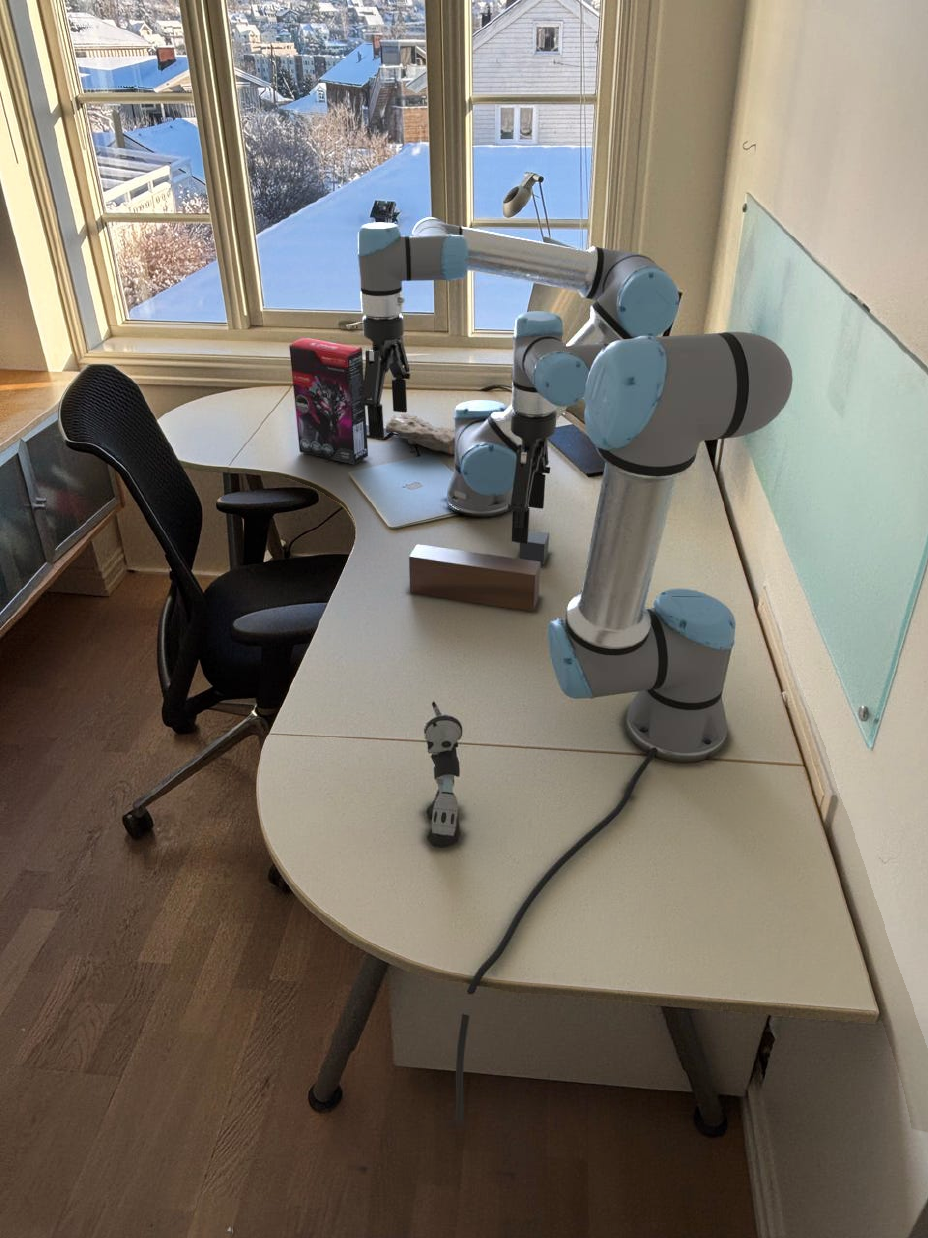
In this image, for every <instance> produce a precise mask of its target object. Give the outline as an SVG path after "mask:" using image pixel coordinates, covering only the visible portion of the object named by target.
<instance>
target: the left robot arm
mask: <svg viewBox="0 0 928 1238" xmlns="http://www.w3.org/2000/svg"><path fill="white" fill-rule="evenodd" d="M357 259H358V272H359V283H360V285H359V286H360V305H361V313H362V315H363V316H362V333H363V336H364V337H365V338H366V339H368V340H370V341H371V342H372V345H371V349H370V350H369V349H368V350H367V349H366V350H365V358H364V359H365V368H364V374H363V375H364V385H363V395H362V405H365V407H367V423H368V437H369V438H376V439H383V438H384V437H385V430H384V429H385V428H384V412H383V411H384V410H383V404H382V403H381V400H382V394H383V389H384V384H385V378H386V373H388V372H389V371H390V373H391V375H392V377H393V378H392V379H391V395H392V411H393V412H394V413H395V412H397V413H404V414H406V413H407V412H408V404H407V403H408V402H407V401H408V400H407V380H411V373H410V364H409V361H408V357H407V353H406V348H405V345H404V338H403V336H404V334H405V326H404V324H405V323H404V316H403V315H402V313H403V311H404V309H403V304H404V303H405V301H406V299H405V297H403V286H402V284H403V282H412V281H413V282H414V281H415V282H416V281H420V282H421V281H447V282H450V281H453V280H454V281H455V280H463V279H465V278H466V277H467V276H468V275H467V274H468V272H469V271H470V272H474V273H480V274H485V275H490V276H495V277H500V278H505V279H506V278H507V279H511V280H517V281H521V282H527V283H532V284H538V285H544V286H548V287H554V288H560V289H565V290H570V291H576V292H578V294H579V296H580V297H581V298H583V299H587V300H588V299H589V300H592V301H595V302H594V303H593V304H592V305H591V306H590V318H589V320H588V321H587V322H586V323H585V324H584V325H583V327H581V329H580V330H579V331H578V332H577V333H576V334H575V335H574V336H573V337H572V338H571V339H570V340H569V342H567V344H566V345H567V346H569V345H584V344H603V343H612V342H615V341H618V340H625V339H634V338H637V337H639V336H647V335H649V336H655V337H659V336H660V335H662V334H664V333H665V332H666V331H667V330H668V329H669V328H670V327H671V326H672V325H673V323H674V321H675V319H676V318H677V315H678V312H679V308H680V294H679V291H678V287H677V286H676V284H675V282H674V280H673V278H672V277H671V276H670V274H669V273H668V272H666V271H665V270H664V269H663V268H661V266H659V265H658V264H657V263H656V262H655V261H654V260H652V258H650V257H648V256H647V255H644V254H641V253H638V252H633V251H626V250H618V249H611V248H604V247H598V246H591V247H590V248H588V249H587V250H584V249H580V248H575V247H574V248H573V247H570V246H569V247H568V246H563V245H559V244H554V243H548V242H543V241H537V240H534V239H533V240H532V239H527V238H522V237H517V236H513V235H512V236H511V235H507V234H500V233H496V232H490V231H486V230H480V229H477V228H476V229H475V228H470V227H464V226H458V225H454V224H450V223H445V222H444V221H443V220H440V219H438V218H436V217H425V218H423V219H421V220H419V221H418V222H417V223H416V224H415V226H414V227H413V230H412V232H411V235H402V234H401V231H400V227H399V226H398V225H397V224H395V223H391V222H371V223H370V222H369V223H366V224H363V225H361V226H360V228H359V229H358V231H357ZM569 407H570V406H567V407H560V406H557V408H556V410H555V411H556V413H557V416H556V421H557V420H558V419H559V418H560V417H561V416H562V415H563V413H565V412H566V410H567V409H569ZM512 410H513V408H512V407H511V404H510V405H509V406H508V405H507V404H506V403H503V402H500V401H497V400H490V399H489V400H488V399H487V400H486V399H485V400H484V399H477V400H476V399H475V400H468V401H463V402H461V403H459V404H458V405H456V407H455V409H454V416H453V420H454V429H455V454H454V470H453V473H452V477H451V480H450V482H449V485H448V487H447V491H446V495H445V496H446V497H447V499H446V505H447V507H448V508H449V509H450V510H452V511H453V512H455V513H456V514H457V513H458V514H459V515H464V516H468V517H474V518H489V517H490V518H491V517H496V516H501V515H502V514H506V513H507V512H508V511H511V510H510V509H508V504H511V498H512V491H513V483H514V476H515V468H516V457H517V455H516V453H517V451H518V448H519V444H522V439H521V438H520V437H518V436H516V435H514V434H513V433H512V431H511V411H512ZM446 497H445V498H446ZM447 501H448V502H449V503H450V504H452V506H454V507H456V508H457V509H459V510H457V509H455V508H453V507H452V506H451V505H449V503H448V502H447Z"/></svg>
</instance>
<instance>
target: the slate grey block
mask: <svg viewBox="0 0 928 1238" xmlns="http://www.w3.org/2000/svg"><path fill="white" fill-rule="evenodd" d="M549 543H550V532H547V531H539V530H531V529H528V542H527V544H525V543H519V553H518V559H524V560H531V561H538V562H541V567H543V566H544V565H545V563H546V561H547V557H548V555H549V545H550V544H549Z"/></svg>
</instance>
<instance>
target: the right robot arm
mask: <svg viewBox="0 0 928 1238" xmlns="http://www.w3.org/2000/svg"><path fill="white" fill-rule="evenodd" d="M563 336H564V329H563V319H562V317H561V316H560V315H559V314H557V313H554V312H551V311H543V310H533V311H527V312H523V313H521V314H519V315H518V316H517V317H516V320H515V322H514V330H513V336H512V339H513V357H512V359H513V360H512V382H511V399H510V400H511V402H510V405H511V407H512V408H513V410H512V411H511V431H512V433H513V434H514V435H516V436H518V437H520V438H521V439H522V444H519V448H518V451H517V453H516V455H517V457H516V468H515V476H514V483H513V491H512V498H511V504H508V509H510V510H509V511H512V520H511V521H512V522H511V543H518V544H520V543H525V544H527V542H528V530H529V525H530V508H532V509H541V510H543V509H544V506H545V489H546V474H547V475H549V474H550V473H551V466H549V462H550V461H549V447H548V445H549V444H548V438H550V437H552V436H554V434H555V433H556V429H557V420H556V416H557V413H556V411H555V410H556V408H557V406H560V407H567V406H569V407H571V406H573V405H575V404H577V403H578V402H580V401H581V400H583V403H584V404H585V407H584V411H583V418H584V425H585V429H586V433H587V436H588V438H589V440H590V442H591V443H592V444H593V445H594V446H595V448H596V451H597V454H598V455H599V457H600V458H601V459H602V461H604V469H603V474H602V479H601V485H600V490H599V496H598V501H597V506H596V511H595V518H594V523H593V528H592V533H591V540H590V544H589V550H588V555H587V561H586V565H585V570H584V576H583V582H582V588H581V591H580V593H578V594H576V595H575V596H574V597H573V598H572V599H571V601H569V603H568V605H567V608H566V614H565V617H564V618H561V617H558V618H556V619H553V620H551V621H550V622H549V623H548V626H547V643H548V650H549V654H550V660H551V664H552V668H553V672H554V675H555V678H556V681H557V683H558V686H559V688H560V690H561V691H562V693H563V694H564V695H565V696H566V697H568V698H570V699H573V700H578V699H579V700H580V699H591V700H592V699H593V700H594V699H595V698H601V697H609V696H615V695H623V694H629V693H630V694H631V693H636V694H635V695H634V697H633V699H632V701H631V702H630V704H629V705H628V707H627V711H626V719H625V728H626V732H627V734H628V736H629V738H630V739H631V741H632V742H634V744H636V745H637V746H638V747H639V748H640V749H641V750H643V751H645V752H646V753H648V754H647V756H646V757H645V758H644V760H643V761H642V762H641V764H640V765H639V767H638V768H637V769H636V771H635V773H634V774H633V776H632V778H631V779H630V781H629V783H628V785H627V787H626V789H625V792H624V794H623V796H622V798H621V799H620V801H619V803H618V804H617V805H616V807H615V808H614V809H613V810H612V811H611V812H610V813H608V815H607V816H605V818H603V819H602V820H601V821H600V822H599V823H598V824H596V825H595V826H593V828H592V829H590V830H589V831H587V833H586V834H585V835H584V836H582V837H581V839H579V840H578V841H577V842H576V843H575V844H574V845H573V846H572V847H570V848H569V849H568V850H567V851H566V852H565V853H564V854H563V855H562V856H561V857H560V858H559V859H558V860H557V861H556V862H555V863H554V864H553V865H552V866H551V867H550V868H549V870H547V871H546V873H545V874H544V875H543V876H542V877H541V879H540V880H539V881H538V882H537V883H536V885H535V886H534V888H532V890H531V891H530V892H529V894H528V896H527V897H526V899H525V900H524V902H523V903H522V904H521V906H520V907H519V909H518V910H517V912H516V914H515V916H514V917H513V919H512V921H511V923H510V925H509V926H508V929H507V930H506V932H505V934H504V936H503V938H502V939H501V941H500V943H499V944H498V946H497V947H496V948H495V950H494V951H493V953H492V954H491V955H490V956H489V957H488V958H487V959H486V960H485V961H484V962H483V963H482V964H481V966H480V967H479V968H478V969H477V971H476V972H475V973H474V976H473V978H472V979H471V982H470V983H469V986H468V989H467V990H466V992H467V995H473V994H475V992H476V991H477V988H478V986H479V984H480V982H481V980H482V979H483V977H484V976H485V974H486V973H487V971H488V970H489V969H490V968H492V967H493V966H494V964H495V963H496V962H497V961H498V960H499V958H500V957H501V956H502V954H503V953H504V951H505V950H506V948H507V946H508V945H509V943H510V942H511V939H512V938H513V937H514V934H515V932H516V931H517V928H518V927H519V924H520V923H521V921H522V919H523V917H524V916H525V914H526V913H527V911H528V909H529V908H530V906H531V905H532V903H533V902H534V901H535V900H536V898H537V896H538V895H539V893H540V892H541V891H542V890H543V889H544V887H545V886H546V885H547V884H548V883H549V881H550V880H551V879H552V878H553V877H554V875H555V874H557V872H558V871H559V870H560V869H561V868H562V867H563V866H564V865H565V864H566V862H568V861H569V860H570V859H571V858H572V857H573V856H574V855H575V854H576V853H578V851H580V850H581V849H582V848H583V847H585V845H586V844H587V843H588V842H590V840H592V838H594V837H595V836H596V835H597V834H598V833H600V832H601V831H602V830H603V829H604V828H606V827H607V826H608V825H609V824H610V823H611V822H613V821H614V819H616V818H617V816H618V815H619V814H620V813H621V812H622V810H623V809H624V807H625V806H626V804H627V803H628V802H629V800H630V797H631V795H632V793H633V791H634V788H635V786H636V784H637V783H638V781H639V779H640V778H641V775H643V772H645V770H646V769H647V767H648V765H649V764H650V763H651V761H652V760H653V758H654V757H656V758H659V759H662V760H666V761H670V762H675V763H694V762H700V761H703V760H706V759H709V758H711V757H714V755H716V754H718V752H720V751H721V750H722V748H723V747H724V744H725V743H726V740H727V739H726V738H727V734H728V721H727V716H726V712H725V708H724V707H725V706H724V701H723V692H724V686H725V682H726V678H727V672H728V668H729V664H730V659H731V654H732V651H733V650H732V649H733V648H734V646H735V637H736V636H735V635H736V618H735V616H734V614H733V612H732V611H731V609H730V608H729V607H728V606H727V605H726V604H725V603H723V602H722V601H721V600H719V599H717V598H715V596H712V595H709V594H707V593H704V592H701V591H699V590H698V591H697V590H694V589H689V588H670V589H667V590H666V589H665V590H664V591H662V592H661V593H660V594H658V595H657V597H656V599H654V602H653V607H651V608H647V607H646V606H645V605H646V601H647V597H648V593H649V589H650V585H651V581H652V577H653V573H654V569H655V566H656V562H657V557H658V554H659V550H660V546H661V542H662V537H663V534H664V530H665V526H666V521H667V518H668V514H669V510H670V507H671V503H672V498H673V495H674V490H675V486H676V482H677V479H678V476H680V475H682V474H684V473H686V472H687V471H688V470H691V468H692V467H693V465H694V463H695V461H696V457H697V453H698V450H699V447H700V444H701V443H702V442H704V441H705V442H706V441H714V440H715V441H716V440H725V439H733V438H741V437H744V436H747V435H749V434H753V433H755V432H757V431H759V430H761V429H763V428H765V427H767V426H768V425H769V424H770V423H771V422H772V421H773V420H775V419H776V418H778V416H779V415H780V414H781V412H782V410H784V408H785V406H786V405H787V402H788V401H789V399H790V397H791V396H790V395H791V392H792V389H793V380H794V379H793V369H792V365H791V362H790V360H789V358H788V356H787V355H786V353H785V351H784V350H783V348H781V347H780V346H779V345H778V344H777V343H776V342H774V341H773V340H771V339H770V338H768V337H766V336H763V335H760V334H756V333H752V332H746V331H724V332H713V333H712V332H711V333H696V334H684V335H683V334H681V335H668V336H667V335H665V336H656V337H655V336H649V335H647V336H639V337H637V338H634V339H625V340H618V341H615V342H612V343H603V344H584V345H569V346H567V344H565V343H564V342H563ZM469 1023H470V1015H468V1014H465V1013H462V1014H461V1019H460V1027H459V1033H458V1040H457V1049H456V1063H455V1124H456V1125H457V1126H461V1125H462V1124H463V1113H464V1066H465V1065H464V1062H465V1050H466V1042H467V1041H466V1040H467V1036H468V1035H467V1034H468V1028H469Z"/></svg>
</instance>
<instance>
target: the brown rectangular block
mask: <svg viewBox="0 0 928 1238" xmlns="http://www.w3.org/2000/svg"><path fill="white" fill-rule="evenodd" d="M541 567H542V566H541V562H538V561H531V560H524V559H519V558H517V557H509V556H502V555H496V554H489V553H480V552H474V551H468V550H460V549H453V548H446V547H441V546H432V545H426V544H416V545H415V547H414V548H413V550H412V551H411V553H410V554H409V556H408V572H409V573H408V574H409V593H410V594H413V595H420V596H427V597H433V598H439V599H440V598H441V599H445V600H452V601H458V602H466V603H471V604H479V605H485V606H492V607H498V608H504V609H510V610H511V609H512V610H517V611H523V612H529V613H534V612H535V609H536V606H537V604H538V601H539V598H540V597H539V596H540V584H541V583H540V582H541Z"/></svg>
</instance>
